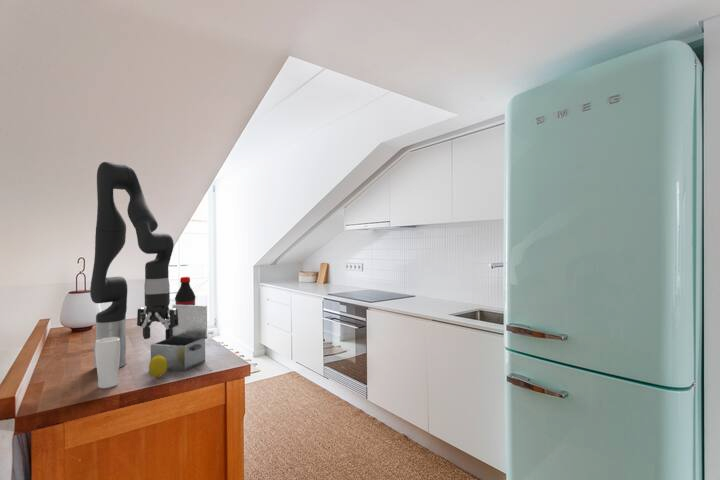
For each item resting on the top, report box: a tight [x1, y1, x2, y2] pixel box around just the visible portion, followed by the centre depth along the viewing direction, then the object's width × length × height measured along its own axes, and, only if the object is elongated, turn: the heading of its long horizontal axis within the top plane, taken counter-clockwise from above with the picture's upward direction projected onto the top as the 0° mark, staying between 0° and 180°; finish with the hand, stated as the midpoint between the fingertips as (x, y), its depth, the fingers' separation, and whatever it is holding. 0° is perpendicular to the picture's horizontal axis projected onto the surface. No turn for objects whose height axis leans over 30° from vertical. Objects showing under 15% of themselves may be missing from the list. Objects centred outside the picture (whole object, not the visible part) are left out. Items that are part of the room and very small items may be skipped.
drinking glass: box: [94, 337, 120, 390], centre depth 121 cm, size 7×7×15 cm
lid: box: [172, 304, 208, 340], centre depth 148 cm, size 15×13×2 cm
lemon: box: [148, 355, 167, 379], centre depth 128 cm, size 6×6×8 cm
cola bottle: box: [174, 276, 196, 305], centre depth 172 cm, size 8×8×30 cm
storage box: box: [150, 336, 206, 373], centre depth 141 cm, size 16×12×9 cm
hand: (157, 339), depth 128 cm, fingers open, 8 cm apart
